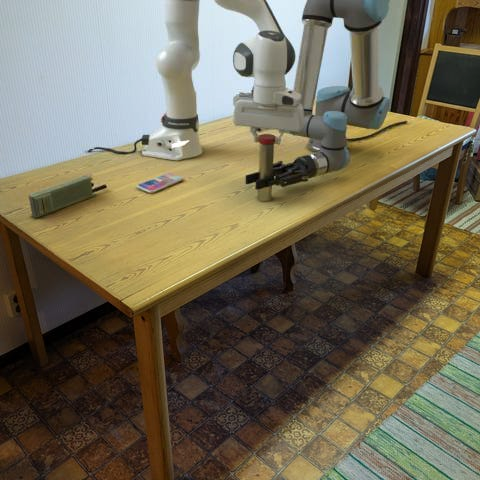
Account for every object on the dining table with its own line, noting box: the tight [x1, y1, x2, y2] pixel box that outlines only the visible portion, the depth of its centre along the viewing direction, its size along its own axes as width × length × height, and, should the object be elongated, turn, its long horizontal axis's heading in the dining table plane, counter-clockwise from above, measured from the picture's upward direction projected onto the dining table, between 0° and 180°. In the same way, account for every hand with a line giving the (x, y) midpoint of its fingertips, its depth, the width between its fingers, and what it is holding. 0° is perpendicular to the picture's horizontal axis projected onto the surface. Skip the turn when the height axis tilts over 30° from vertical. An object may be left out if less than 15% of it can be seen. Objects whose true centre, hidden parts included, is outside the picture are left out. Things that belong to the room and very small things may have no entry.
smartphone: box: [136, 172, 184, 194], centre depth 164 cm, size 7×1×15 cm
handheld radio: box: [28, 173, 108, 219], centre depth 150 cm, size 7×3×25 cm
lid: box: [258, 133, 277, 145], centre depth 147 cm, size 5×5×2 cm
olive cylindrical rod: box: [257, 143, 275, 202], centre depth 151 cm, size 4×4×19 cm
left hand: (267, 142), depth 147 cm, fingers closed on lid, 5 cm apart
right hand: (251, 182), depth 150 cm, fingers closed on olive cylindrical rod, 4 cm apart
